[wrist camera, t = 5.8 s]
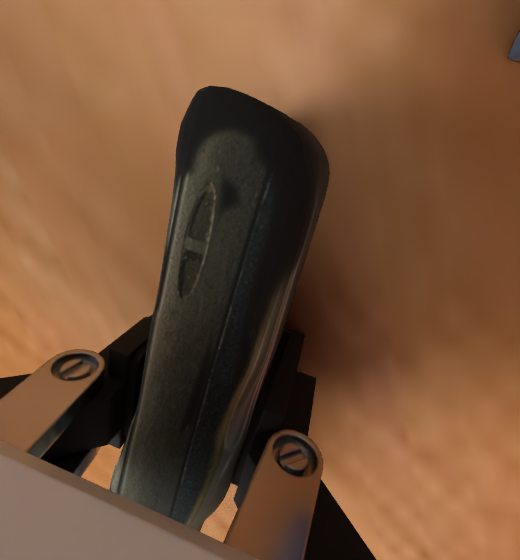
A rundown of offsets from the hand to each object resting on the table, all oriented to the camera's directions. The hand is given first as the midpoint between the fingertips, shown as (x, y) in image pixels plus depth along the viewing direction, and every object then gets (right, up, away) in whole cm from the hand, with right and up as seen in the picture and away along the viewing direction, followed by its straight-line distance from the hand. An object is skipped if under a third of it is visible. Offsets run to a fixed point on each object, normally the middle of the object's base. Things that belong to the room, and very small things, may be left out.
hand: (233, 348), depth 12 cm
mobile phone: (0, 0, 0) cm, 0 cm away
